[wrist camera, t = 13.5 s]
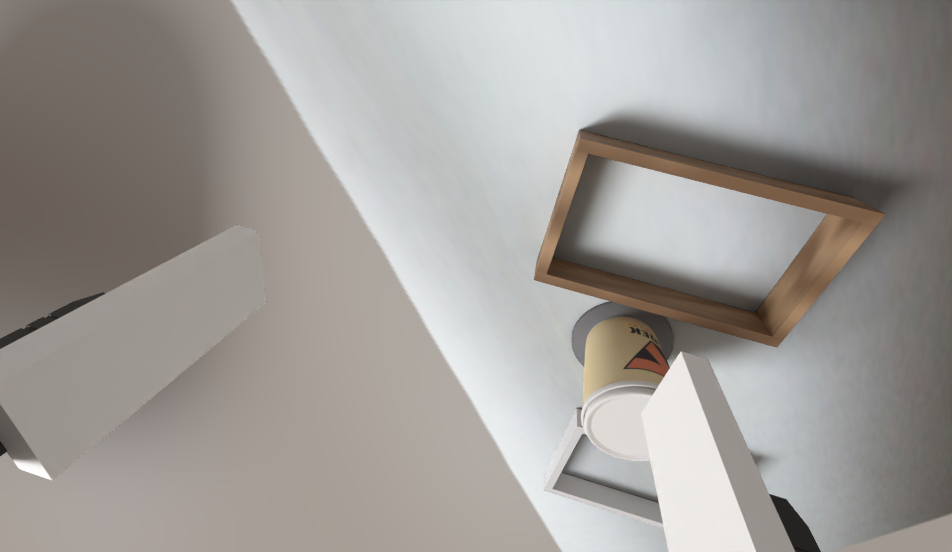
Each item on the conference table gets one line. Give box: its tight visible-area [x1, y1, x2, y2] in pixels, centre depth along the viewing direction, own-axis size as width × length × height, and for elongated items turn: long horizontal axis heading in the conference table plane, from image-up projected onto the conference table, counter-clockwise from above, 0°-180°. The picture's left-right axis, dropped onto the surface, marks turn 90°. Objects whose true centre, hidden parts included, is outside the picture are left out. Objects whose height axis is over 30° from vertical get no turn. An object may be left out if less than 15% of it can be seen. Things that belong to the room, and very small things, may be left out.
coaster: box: [572, 302, 674, 366], centre depth 45 cm, size 11×11×1 cm
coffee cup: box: [581, 316, 670, 461], centre depth 40 cm, size 9×9×12 cm
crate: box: [534, 130, 885, 347], centre depth 36 cm, size 14×24×4 cm, turn 79°
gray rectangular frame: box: [544, 408, 664, 528], centre depth 54 cm, size 15×22×3 cm
